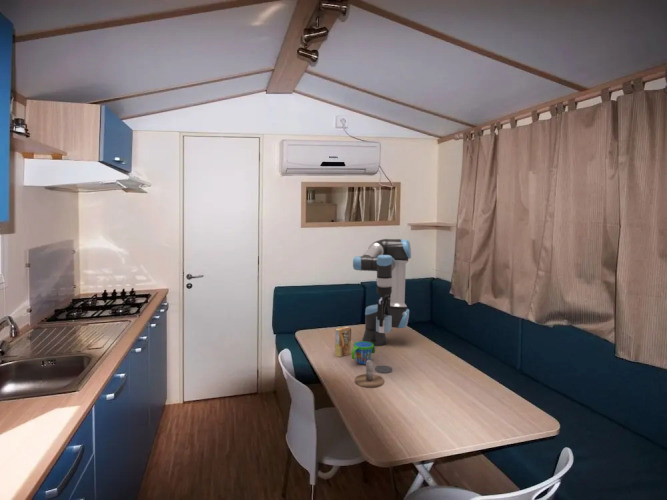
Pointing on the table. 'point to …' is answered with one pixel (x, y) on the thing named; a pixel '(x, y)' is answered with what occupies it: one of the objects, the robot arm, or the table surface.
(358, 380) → the post stand
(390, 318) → the cube with round hole
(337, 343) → the candy box
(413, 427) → the table surface
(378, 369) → the coaster
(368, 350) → the snack cup
